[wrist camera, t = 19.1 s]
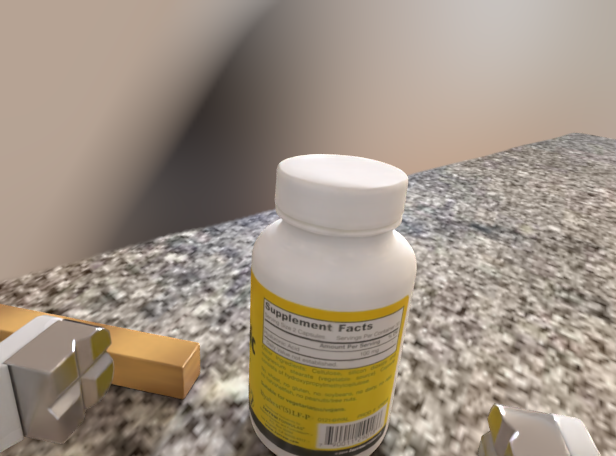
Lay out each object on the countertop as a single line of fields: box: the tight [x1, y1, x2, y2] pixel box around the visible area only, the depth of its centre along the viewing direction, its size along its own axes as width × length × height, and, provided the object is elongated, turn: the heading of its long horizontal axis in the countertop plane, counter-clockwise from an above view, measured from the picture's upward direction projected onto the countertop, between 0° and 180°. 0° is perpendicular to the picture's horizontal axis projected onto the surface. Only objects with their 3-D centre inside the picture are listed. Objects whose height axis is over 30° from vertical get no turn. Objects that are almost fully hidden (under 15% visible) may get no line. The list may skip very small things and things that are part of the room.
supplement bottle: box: [249, 154, 417, 456], centre depth 15 cm, size 5×5×10 cm
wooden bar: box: [0, 304, 200, 399], centre depth 18 cm, size 10×2×2 cm, turn 79°
